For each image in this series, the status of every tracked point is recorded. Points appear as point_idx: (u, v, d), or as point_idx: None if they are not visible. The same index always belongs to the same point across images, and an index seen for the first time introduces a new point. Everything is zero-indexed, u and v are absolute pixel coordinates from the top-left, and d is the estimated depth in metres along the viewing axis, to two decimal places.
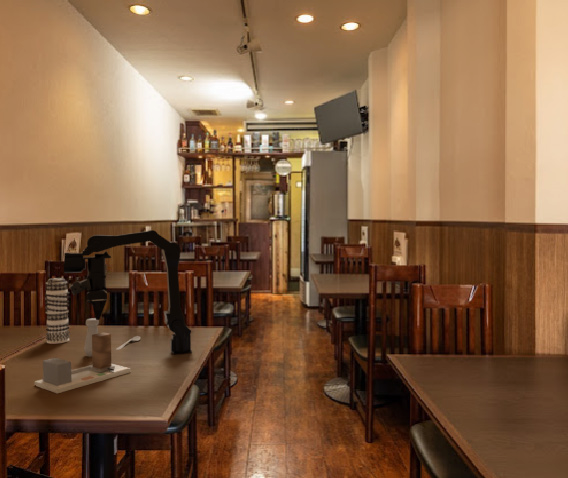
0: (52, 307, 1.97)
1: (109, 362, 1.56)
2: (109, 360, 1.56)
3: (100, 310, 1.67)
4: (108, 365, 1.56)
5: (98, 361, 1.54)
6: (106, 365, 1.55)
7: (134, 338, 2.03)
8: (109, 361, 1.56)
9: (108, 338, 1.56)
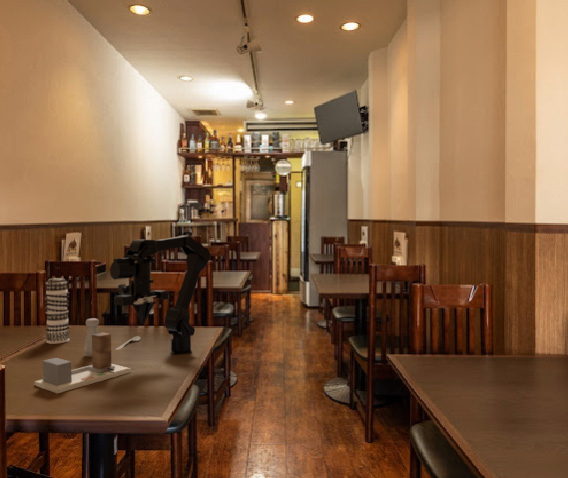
0: (52, 307, 1.97)
1: (109, 362, 1.56)
2: (109, 360, 1.56)
3: (141, 314, 1.68)
4: (108, 365, 1.56)
5: (98, 361, 1.54)
6: (106, 365, 1.55)
7: (134, 338, 2.03)
8: (109, 361, 1.56)
9: (108, 338, 1.56)
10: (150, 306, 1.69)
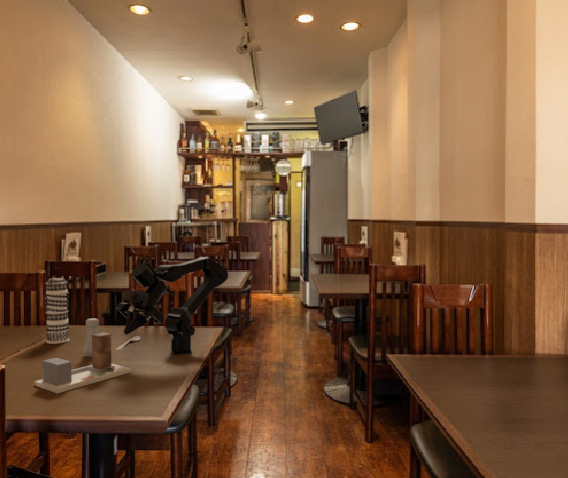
0: (52, 307, 1.97)
1: (109, 362, 1.56)
2: (109, 360, 1.56)
3: (134, 328, 1.65)
4: (108, 365, 1.56)
5: (98, 361, 1.54)
6: (106, 365, 1.55)
7: (134, 338, 2.03)
8: (109, 361, 1.56)
9: (108, 338, 1.56)
10: None
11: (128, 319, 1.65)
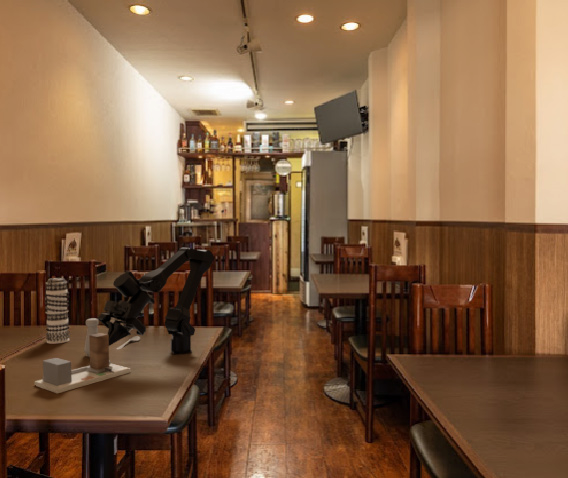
0: (52, 307, 1.97)
1: (107, 363, 1.56)
2: (107, 361, 1.56)
3: (115, 339, 1.59)
4: (106, 366, 1.55)
5: (95, 362, 1.53)
6: (104, 366, 1.55)
7: (134, 338, 2.03)
8: (107, 362, 1.56)
9: (106, 338, 1.55)
10: None
11: (109, 330, 1.60)
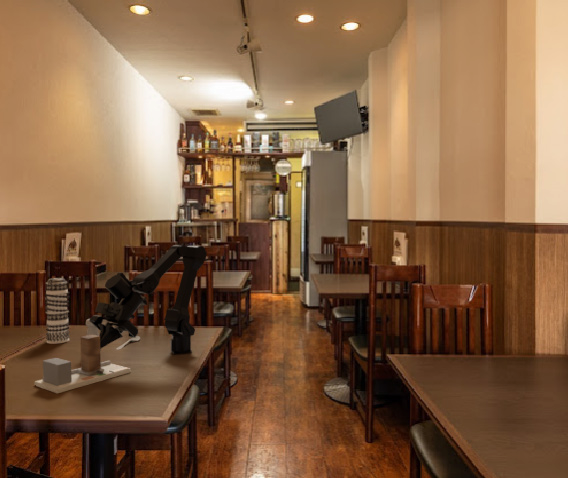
0: (52, 307, 1.97)
1: (98, 365, 1.53)
2: (98, 363, 1.53)
3: (107, 342, 1.57)
4: (97, 368, 1.53)
5: (87, 364, 1.51)
6: (95, 368, 1.52)
7: (134, 338, 2.03)
8: (98, 364, 1.53)
9: (97, 340, 1.53)
10: None
11: (101, 333, 1.57)
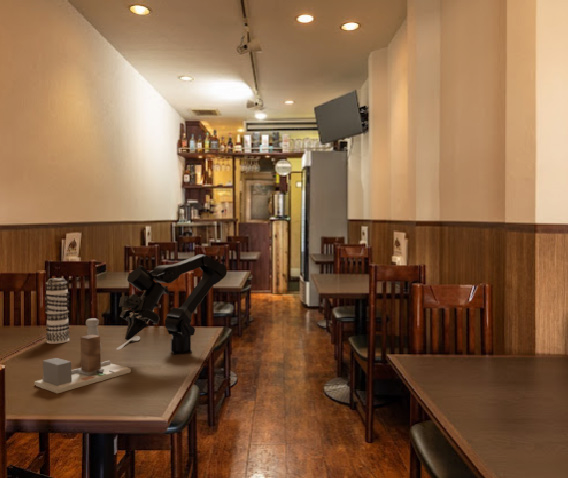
0: (52, 307, 1.97)
1: (98, 365, 1.53)
2: (98, 363, 1.53)
3: (135, 332, 1.65)
4: (97, 368, 1.53)
5: (87, 364, 1.51)
6: (95, 368, 1.52)
7: (134, 338, 2.03)
8: (98, 364, 1.53)
9: (97, 340, 1.53)
10: None
11: (128, 325, 1.66)
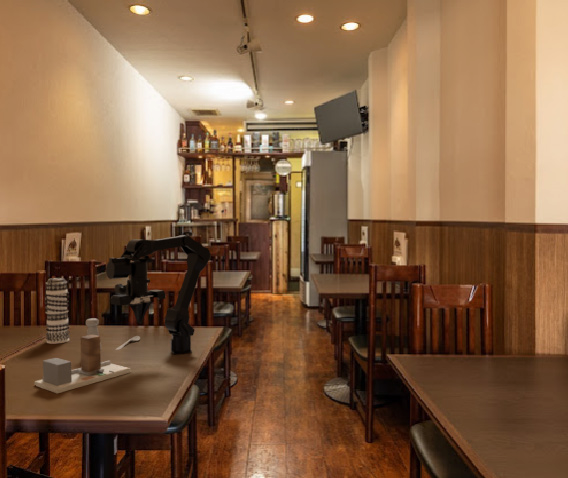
0: (52, 307, 1.97)
1: (98, 365, 1.53)
2: (98, 363, 1.53)
3: (138, 314, 1.69)
4: (97, 368, 1.53)
5: (87, 364, 1.51)
6: (95, 368, 1.52)
7: (134, 338, 2.03)
8: (98, 364, 1.53)
9: (97, 340, 1.53)
10: (146, 305, 1.69)
11: None
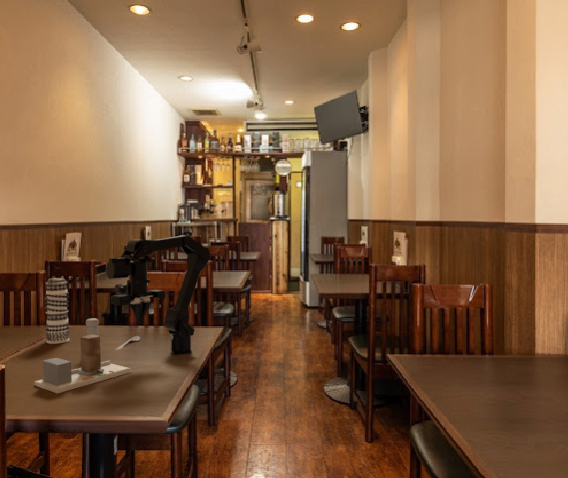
0: (52, 307, 1.97)
1: (98, 365, 1.53)
2: (98, 363, 1.53)
3: (138, 314, 1.69)
4: (97, 368, 1.53)
5: (87, 364, 1.51)
6: (95, 368, 1.52)
7: (134, 338, 2.03)
8: (98, 364, 1.53)
9: (97, 340, 1.53)
10: (146, 305, 1.69)
11: None
